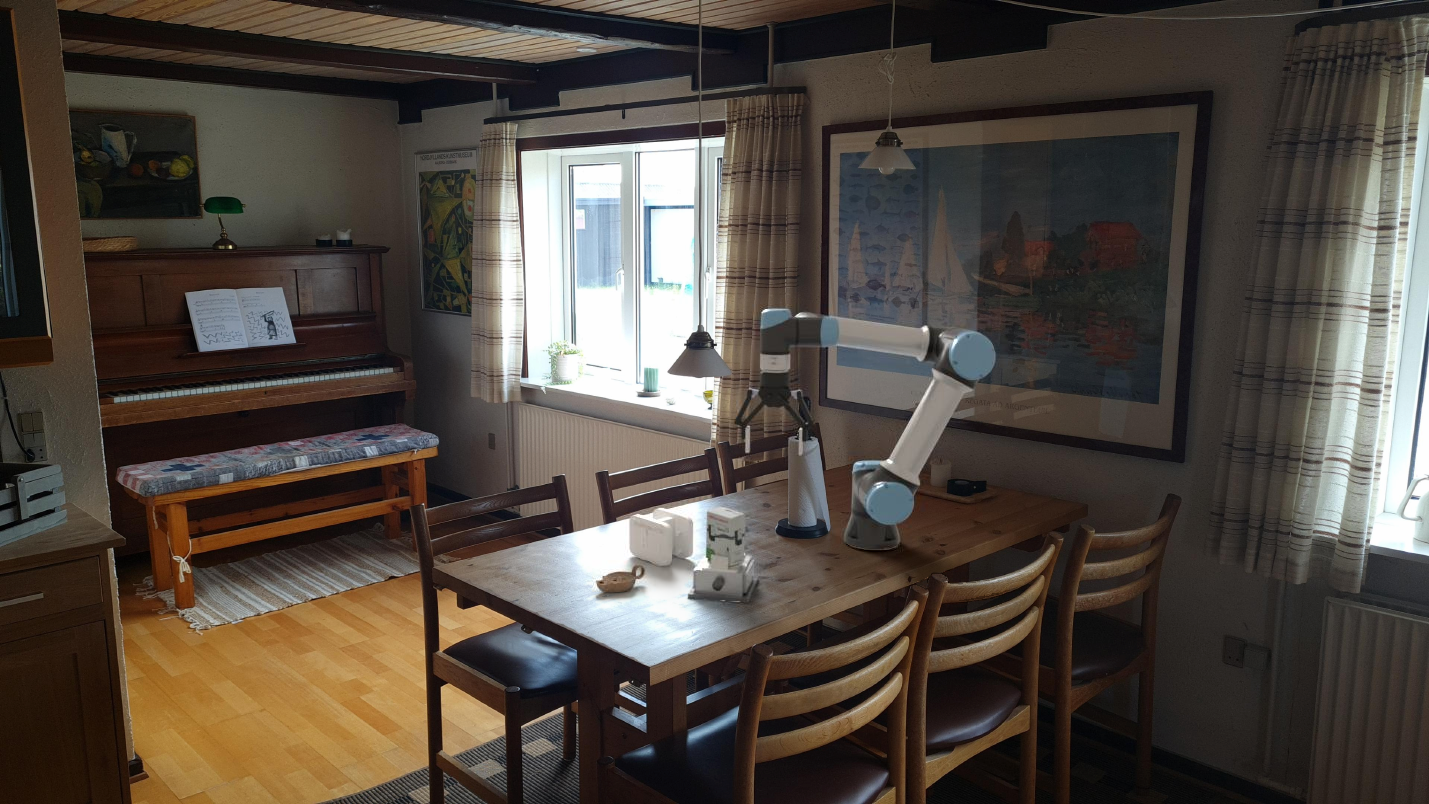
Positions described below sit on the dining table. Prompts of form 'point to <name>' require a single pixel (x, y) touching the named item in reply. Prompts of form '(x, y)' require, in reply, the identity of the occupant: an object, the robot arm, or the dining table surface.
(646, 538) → the cable organizer
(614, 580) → the oil lamp
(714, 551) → the ink box
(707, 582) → the white boxy piece
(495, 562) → the dining table surface
